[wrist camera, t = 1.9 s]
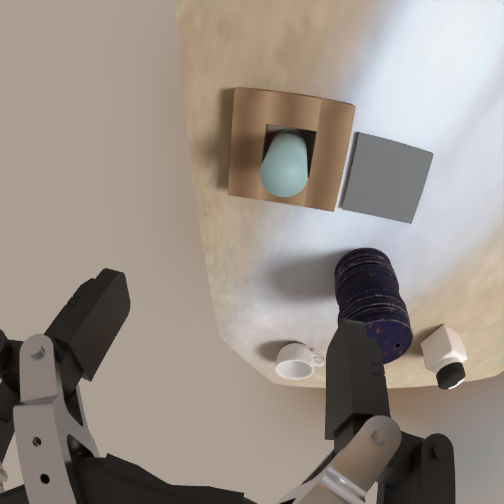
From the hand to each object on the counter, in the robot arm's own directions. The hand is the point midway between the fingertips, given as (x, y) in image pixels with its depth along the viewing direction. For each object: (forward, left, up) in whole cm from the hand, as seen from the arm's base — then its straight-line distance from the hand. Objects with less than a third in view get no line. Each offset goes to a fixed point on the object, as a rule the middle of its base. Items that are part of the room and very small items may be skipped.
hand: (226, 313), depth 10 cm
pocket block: (-1, +1, -31) cm, 31 cm away
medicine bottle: (-40, +33, -31) cm, 61 cm away
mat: (-15, +3, -31) cm, 34 cm away
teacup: (-10, +41, -31) cm, 53 cm away
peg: (-1, +1, -31) cm, 31 cm away
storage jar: (-16, +19, -31) cm, 40 cm away
